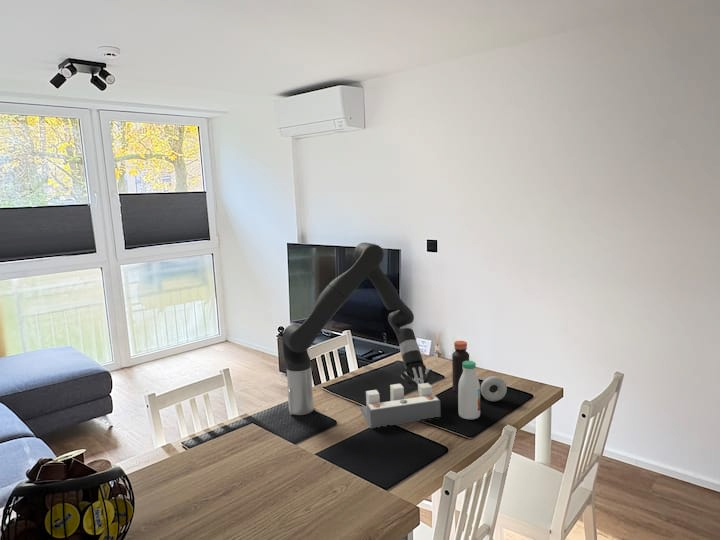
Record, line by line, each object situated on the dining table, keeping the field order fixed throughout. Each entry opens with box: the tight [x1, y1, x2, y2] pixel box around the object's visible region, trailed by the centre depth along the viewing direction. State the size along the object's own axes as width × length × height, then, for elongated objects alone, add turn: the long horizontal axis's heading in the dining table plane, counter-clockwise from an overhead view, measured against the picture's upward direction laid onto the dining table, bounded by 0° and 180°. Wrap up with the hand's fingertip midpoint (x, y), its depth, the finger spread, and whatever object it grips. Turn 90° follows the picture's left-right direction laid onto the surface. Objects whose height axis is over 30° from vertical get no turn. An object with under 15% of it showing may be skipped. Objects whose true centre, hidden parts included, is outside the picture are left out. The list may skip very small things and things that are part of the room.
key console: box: [360, 394, 442, 429], centre depth 182 cm, size 26×15×7 cm, turn 103°
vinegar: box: [451, 340, 470, 393], centre depth 200 cm, size 7×7×20 cm
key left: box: [365, 389, 381, 406], centre depth 179 cm, size 4×4×8 cm
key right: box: [417, 382, 433, 397], centre depth 184 cm, size 4×4×8 cm
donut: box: [480, 375, 508, 402], centre depth 189 cm, size 10×4×10 cm, turn 90°
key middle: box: [389, 383, 405, 401], centre depth 184 cm, size 4×4×8 cm
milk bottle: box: [457, 360, 481, 420], centre depth 178 cm, size 8×8×20 cm
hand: (422, 395), depth 186 cm, fingers closed
